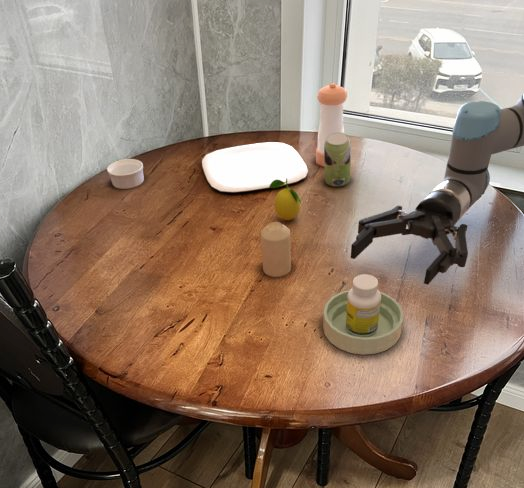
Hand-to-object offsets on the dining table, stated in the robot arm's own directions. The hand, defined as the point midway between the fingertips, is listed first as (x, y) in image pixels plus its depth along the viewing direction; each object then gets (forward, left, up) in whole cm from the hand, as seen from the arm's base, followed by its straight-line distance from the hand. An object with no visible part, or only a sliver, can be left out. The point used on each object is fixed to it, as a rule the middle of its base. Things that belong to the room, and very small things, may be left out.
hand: (388, 264), depth 90 cm
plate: (+51, -35, -10) cm, 62 cm away
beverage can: (+29, -38, -10) cm, 49 cm away
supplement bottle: (+1, +7, -9) cm, 12 cm away
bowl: (+1, +7, -10) cm, 12 cm away
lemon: (+31, -18, -10) cm, 37 cm away
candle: (+23, -1, -10) cm, 25 cm away
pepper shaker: (+36, -48, -10) cm, 61 cm away
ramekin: (+76, -15, -10) cm, 78 cm away
